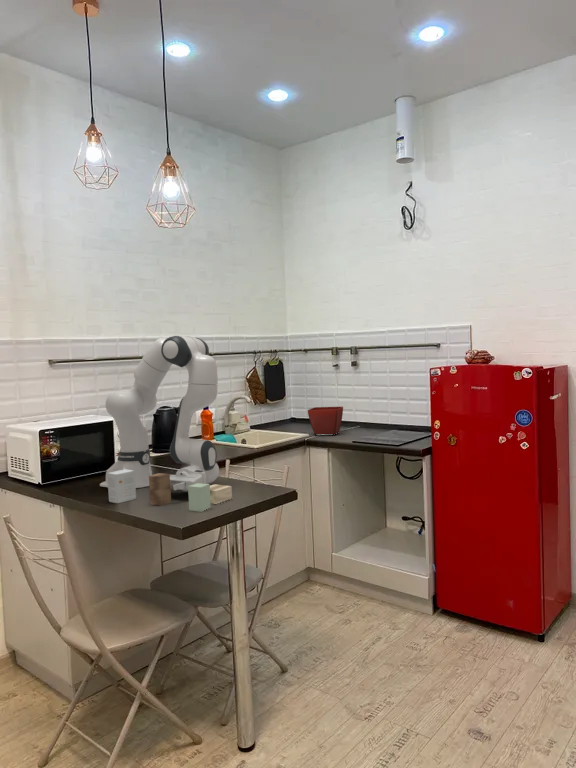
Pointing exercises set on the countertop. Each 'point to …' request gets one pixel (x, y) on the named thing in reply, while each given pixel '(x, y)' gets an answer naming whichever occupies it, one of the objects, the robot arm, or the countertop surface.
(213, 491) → the beech block
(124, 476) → the small box
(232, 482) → the countertop surface
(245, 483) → the countertop surface
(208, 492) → the sage green block
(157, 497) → the walnut block
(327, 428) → the plant pot
